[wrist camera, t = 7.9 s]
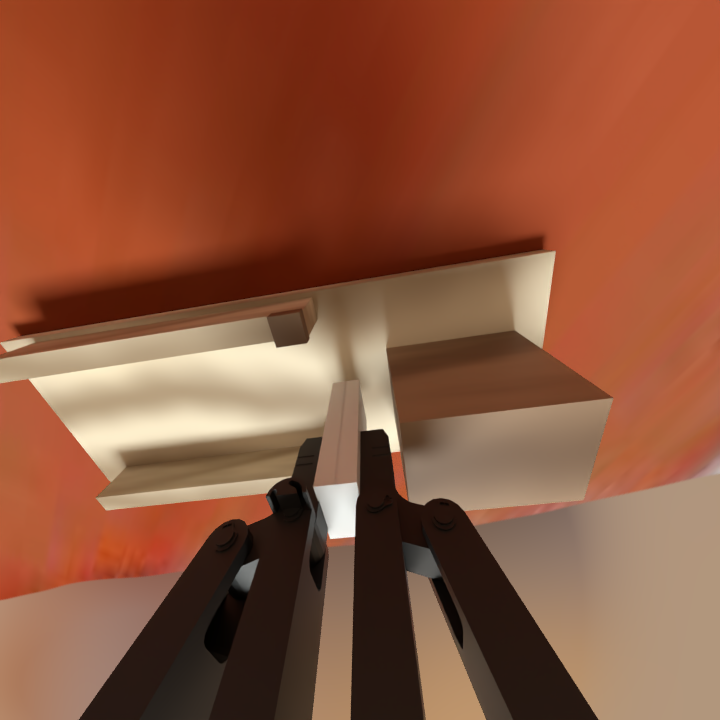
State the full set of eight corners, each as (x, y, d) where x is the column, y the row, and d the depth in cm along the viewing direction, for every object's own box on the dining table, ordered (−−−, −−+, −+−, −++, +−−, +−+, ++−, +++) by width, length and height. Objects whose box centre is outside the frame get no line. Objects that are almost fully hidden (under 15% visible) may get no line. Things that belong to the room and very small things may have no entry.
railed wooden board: (19, 336, 16) (-80, 368, 13) (543, 249, 14) (607, 257, 10) (122, 473, 21) (72, 525, 18) (522, 426, 19) (560, 474, 15)
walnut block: (385, 348, 15) (400, 423, 10) (514, 330, 15) (613, 397, 9) (395, 419, 18) (410, 515, 12) (507, 405, 17) (583, 499, 11)
